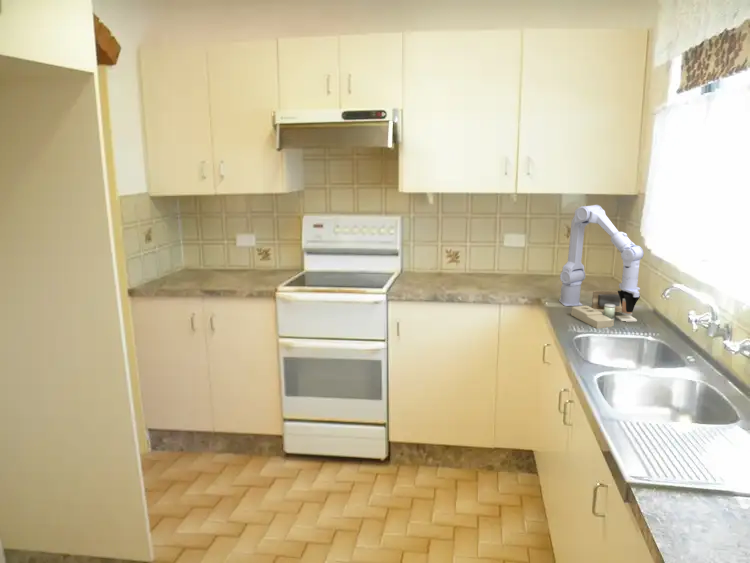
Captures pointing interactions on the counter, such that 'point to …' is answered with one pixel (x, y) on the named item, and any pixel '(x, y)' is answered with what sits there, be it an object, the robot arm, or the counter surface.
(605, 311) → the cylinder
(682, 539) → the counter surface
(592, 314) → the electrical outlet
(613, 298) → the junction unit
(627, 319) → the pad
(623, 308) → the cylinder
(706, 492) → the counter surface
